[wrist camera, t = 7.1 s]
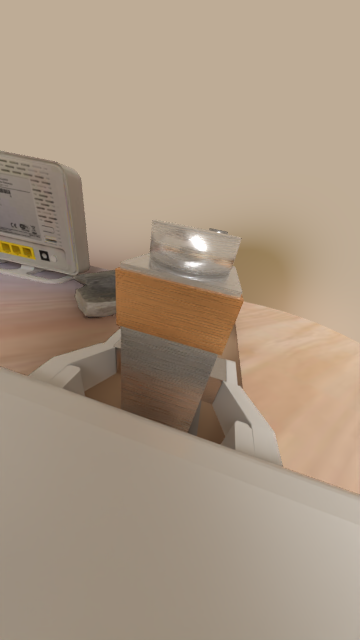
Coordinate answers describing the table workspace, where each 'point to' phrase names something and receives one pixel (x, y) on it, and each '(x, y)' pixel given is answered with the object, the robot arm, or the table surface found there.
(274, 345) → the table surface
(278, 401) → the table surface
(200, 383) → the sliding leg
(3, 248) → the network device
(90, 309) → the fossil
